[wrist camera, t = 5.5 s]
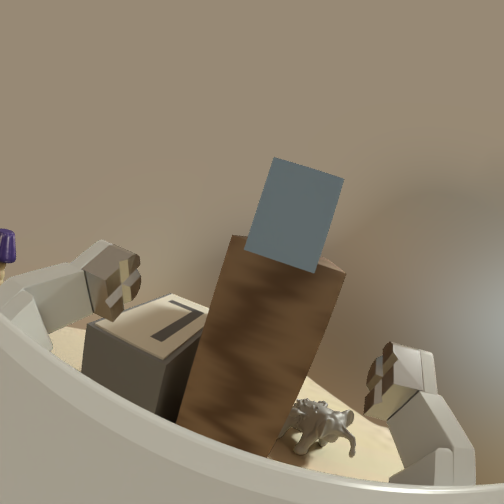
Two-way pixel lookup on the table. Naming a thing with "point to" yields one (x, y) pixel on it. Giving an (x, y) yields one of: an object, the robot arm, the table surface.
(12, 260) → the toy lamp
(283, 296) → the walnut stand
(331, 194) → the blue bar
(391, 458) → the table surface
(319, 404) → the gray elephant figurine
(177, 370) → the stand
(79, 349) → the table surface
